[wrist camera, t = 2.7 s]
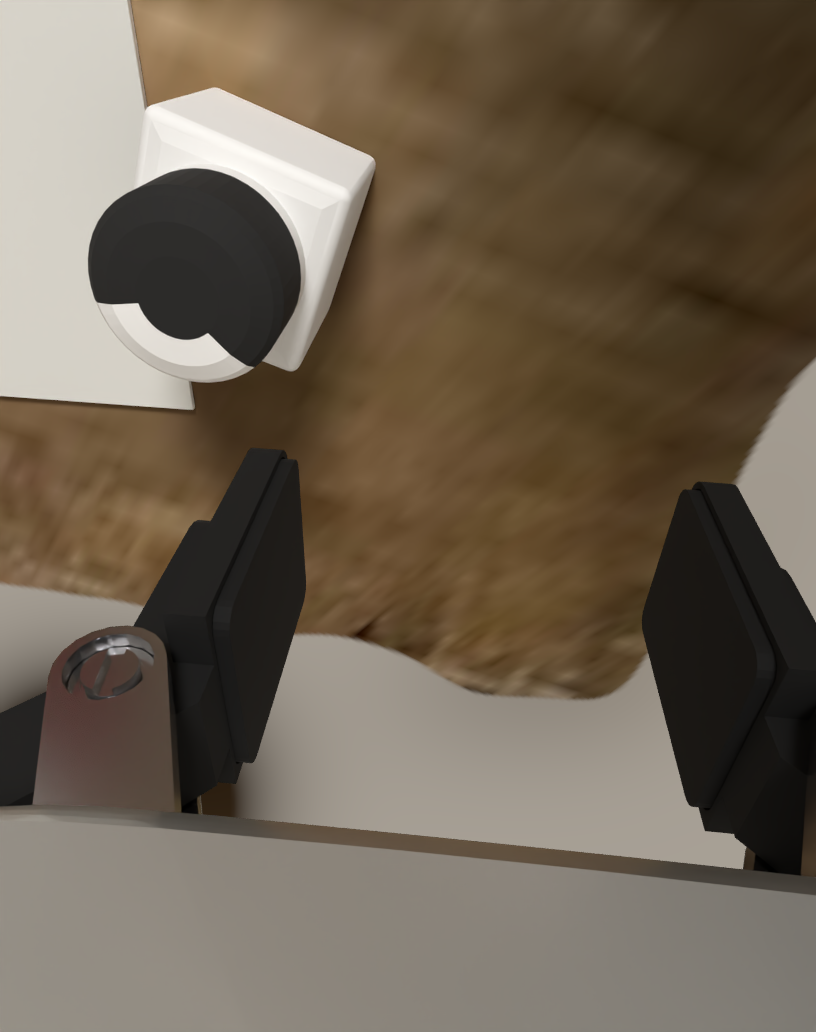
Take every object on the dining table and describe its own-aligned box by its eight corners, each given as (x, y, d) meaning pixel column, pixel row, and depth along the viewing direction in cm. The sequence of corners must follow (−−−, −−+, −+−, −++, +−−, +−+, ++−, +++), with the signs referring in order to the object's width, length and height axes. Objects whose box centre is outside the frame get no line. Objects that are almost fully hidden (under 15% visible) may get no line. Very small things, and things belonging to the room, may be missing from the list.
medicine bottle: (212, 83, 28) (67, 121, 18) (379, 157, 29) (327, 231, 19) (180, 253, 32) (48, 358, 22) (328, 313, 33) (263, 438, 23)
